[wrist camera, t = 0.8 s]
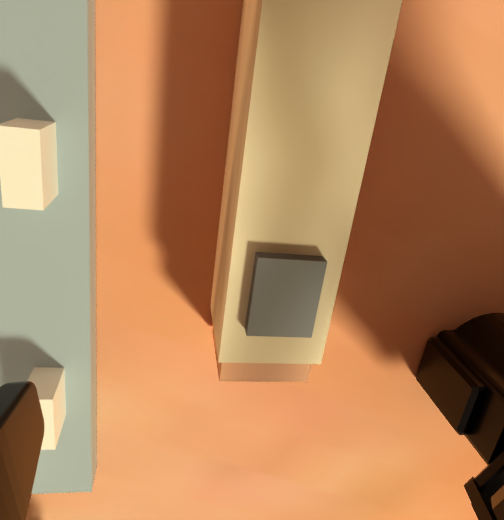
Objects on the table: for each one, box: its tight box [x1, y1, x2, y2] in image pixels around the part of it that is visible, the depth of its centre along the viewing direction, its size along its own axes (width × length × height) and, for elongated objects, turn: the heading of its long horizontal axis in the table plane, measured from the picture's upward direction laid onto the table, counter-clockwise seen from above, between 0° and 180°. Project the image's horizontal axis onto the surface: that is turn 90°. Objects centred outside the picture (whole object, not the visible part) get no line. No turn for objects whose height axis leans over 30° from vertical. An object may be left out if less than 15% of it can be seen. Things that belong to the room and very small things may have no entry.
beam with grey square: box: [210, 0, 402, 382], centre depth 17 cm, size 4×14×5 cm, turn 173°
